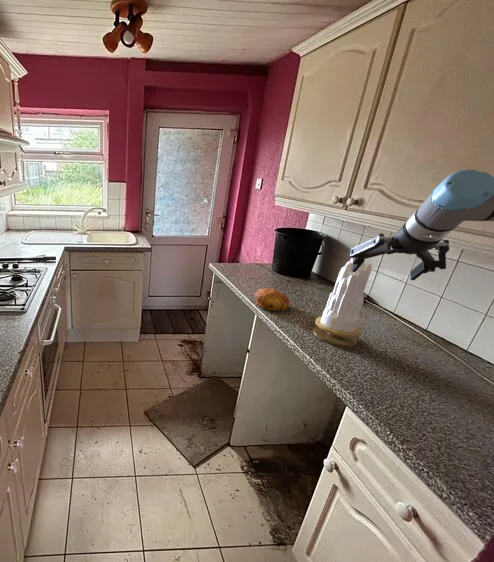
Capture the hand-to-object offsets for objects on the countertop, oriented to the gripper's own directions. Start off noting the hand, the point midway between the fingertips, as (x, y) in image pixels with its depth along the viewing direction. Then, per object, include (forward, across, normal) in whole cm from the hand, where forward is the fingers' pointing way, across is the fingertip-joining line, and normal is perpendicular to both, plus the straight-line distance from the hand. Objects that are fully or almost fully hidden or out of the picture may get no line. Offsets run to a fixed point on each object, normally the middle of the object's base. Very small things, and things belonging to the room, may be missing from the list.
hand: (382, 271), depth 89 cm
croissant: (+48, -23, +4) cm, 54 cm away
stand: (+35, -2, -10) cm, 36 cm away
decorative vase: (+31, -2, -6) cm, 32 cm away
